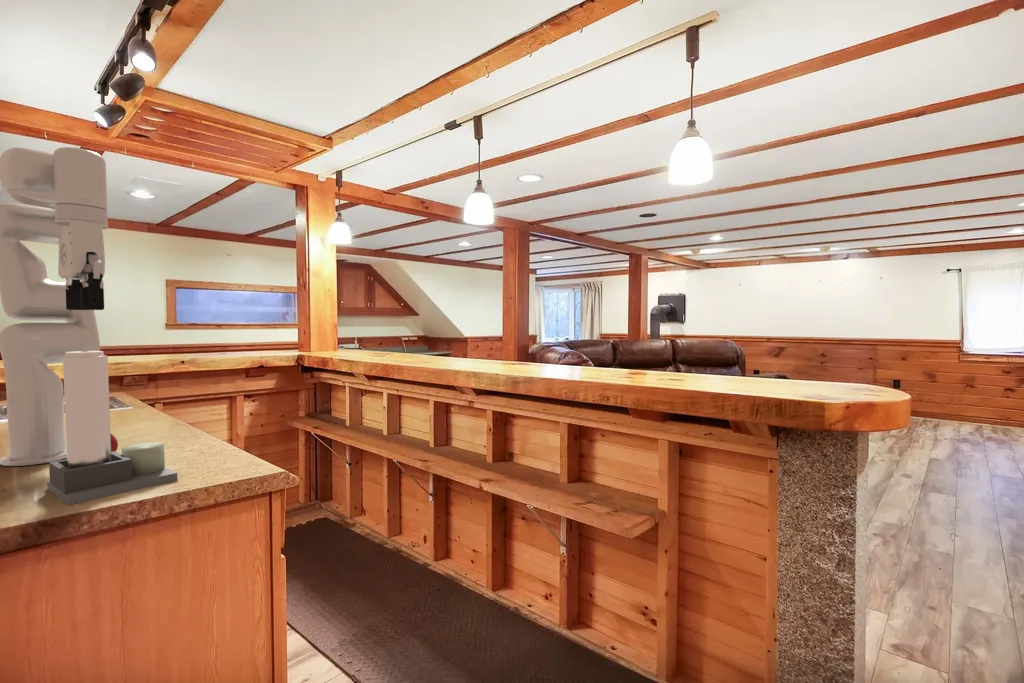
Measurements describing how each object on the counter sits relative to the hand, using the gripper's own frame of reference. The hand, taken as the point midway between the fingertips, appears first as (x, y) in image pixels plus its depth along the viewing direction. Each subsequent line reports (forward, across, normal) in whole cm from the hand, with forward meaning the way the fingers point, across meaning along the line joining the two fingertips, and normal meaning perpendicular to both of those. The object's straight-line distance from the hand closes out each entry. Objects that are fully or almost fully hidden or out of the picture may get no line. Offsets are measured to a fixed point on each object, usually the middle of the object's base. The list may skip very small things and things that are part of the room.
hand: (84, 309), depth 95 cm
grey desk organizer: (+34, 0, +4) cm, 34 cm away
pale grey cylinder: (+33, 0, 0) cm, 33 cm away
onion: (+35, -20, +7) cm, 41 cm away
